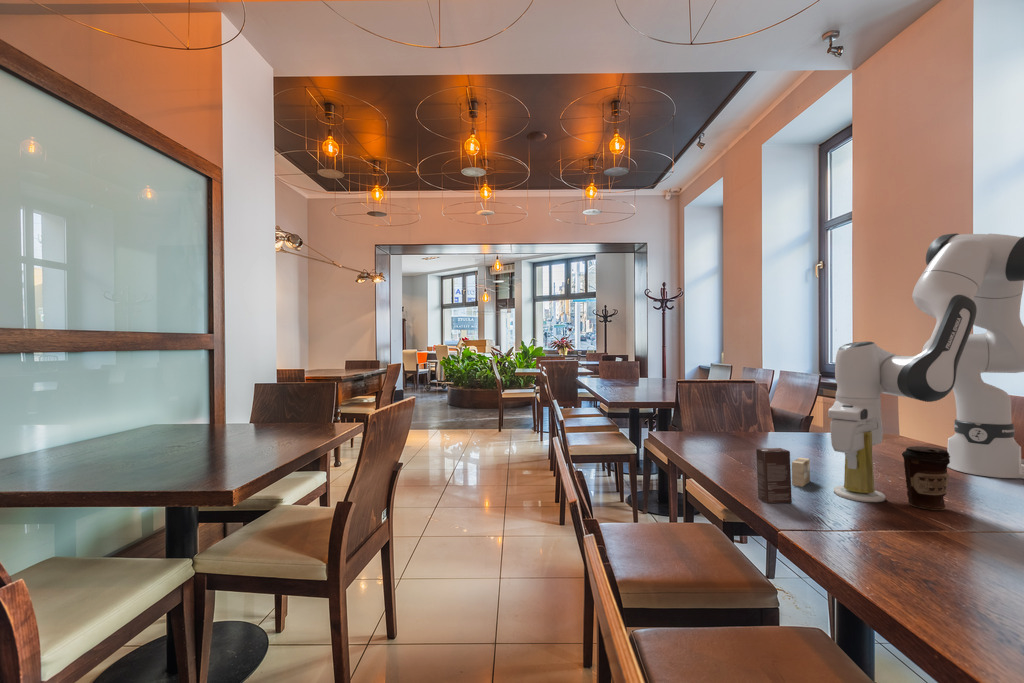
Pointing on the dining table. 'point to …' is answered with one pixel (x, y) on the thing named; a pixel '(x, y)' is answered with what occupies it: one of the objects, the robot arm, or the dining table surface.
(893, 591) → the dining table surface
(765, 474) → the box
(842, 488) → the coaster
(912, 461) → the coffee cup
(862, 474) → the vase
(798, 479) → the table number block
